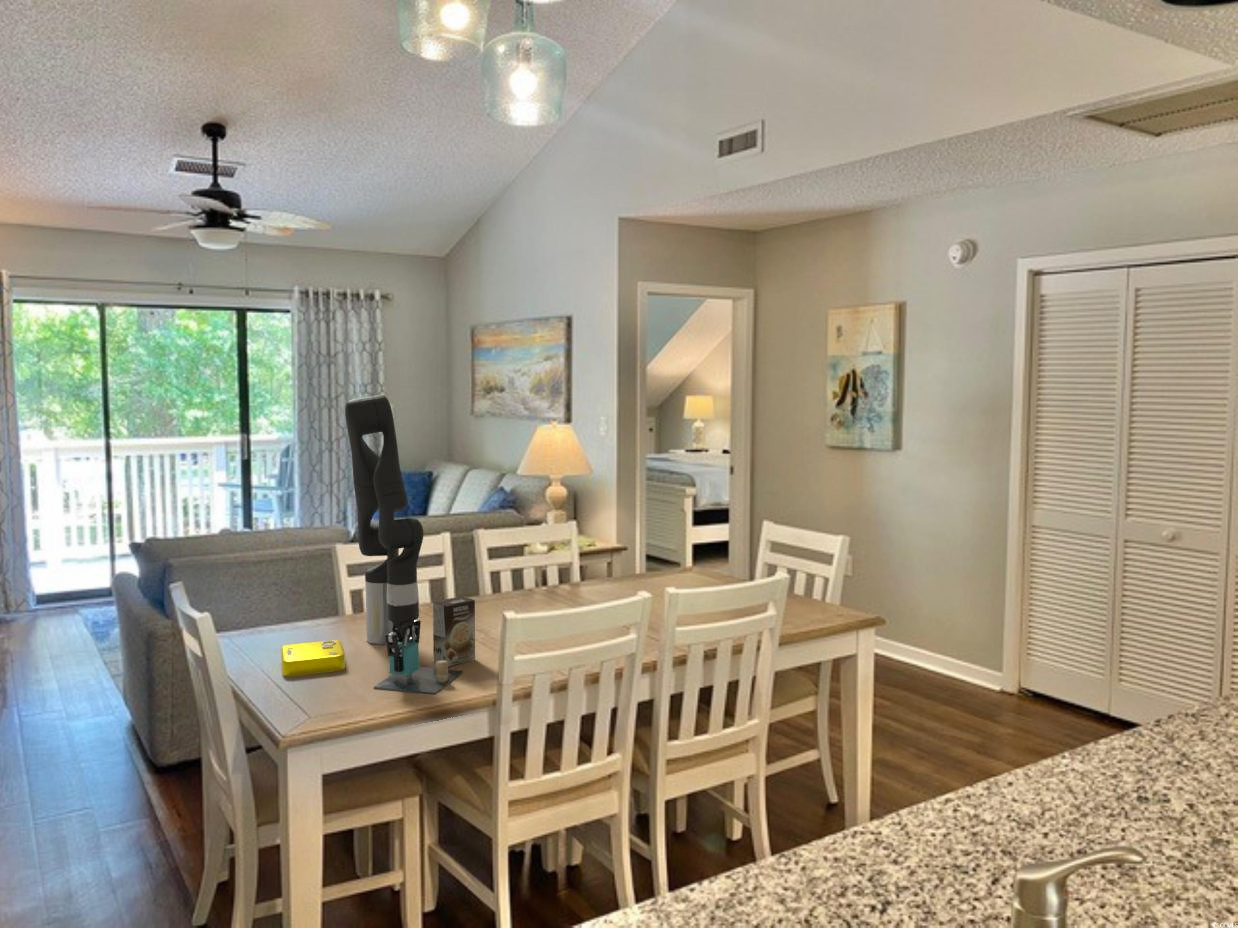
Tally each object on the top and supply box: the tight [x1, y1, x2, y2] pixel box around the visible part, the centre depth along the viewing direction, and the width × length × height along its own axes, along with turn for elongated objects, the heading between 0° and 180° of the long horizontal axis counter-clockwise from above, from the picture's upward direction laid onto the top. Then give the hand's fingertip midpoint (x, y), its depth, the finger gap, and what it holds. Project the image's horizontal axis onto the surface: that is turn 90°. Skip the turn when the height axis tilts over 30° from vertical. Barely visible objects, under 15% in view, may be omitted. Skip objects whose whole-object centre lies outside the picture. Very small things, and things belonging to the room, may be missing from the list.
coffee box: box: [432, 596, 476, 667], centre depth 237 cm, size 9×6×16 cm
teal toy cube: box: [388, 642, 420, 675], centre depth 224 cm, size 5×5×7 cm
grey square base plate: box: [373, 666, 464, 695], centre depth 223 cm, size 16×16×7 cm
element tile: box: [280, 639, 346, 678], centre depth 235 cm, size 15×15×5 cm
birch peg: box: [435, 661, 449, 683], centre depth 222 cm, size 3×3×5 cm
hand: (404, 667), depth 224 cm, fingers closed on teal toy cube, 5 cm apart
